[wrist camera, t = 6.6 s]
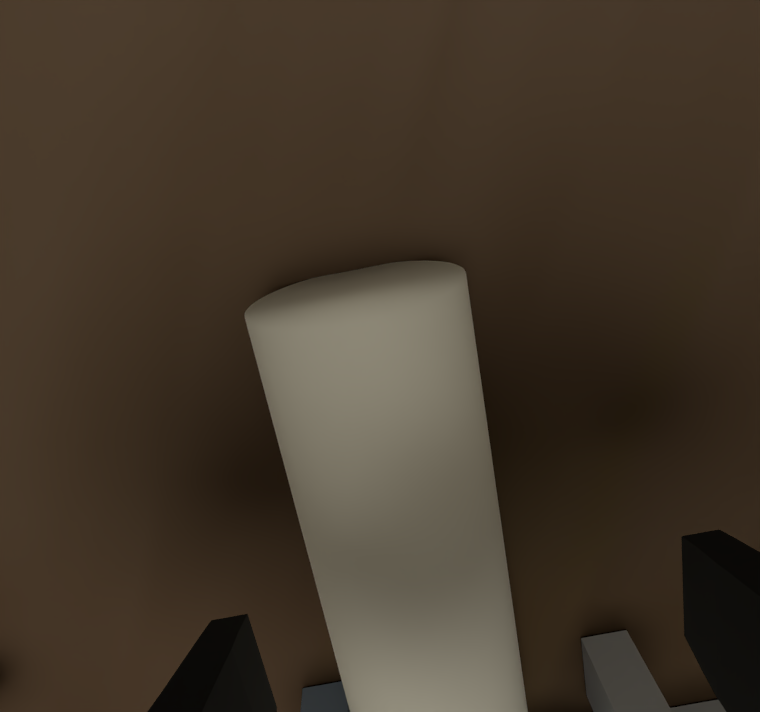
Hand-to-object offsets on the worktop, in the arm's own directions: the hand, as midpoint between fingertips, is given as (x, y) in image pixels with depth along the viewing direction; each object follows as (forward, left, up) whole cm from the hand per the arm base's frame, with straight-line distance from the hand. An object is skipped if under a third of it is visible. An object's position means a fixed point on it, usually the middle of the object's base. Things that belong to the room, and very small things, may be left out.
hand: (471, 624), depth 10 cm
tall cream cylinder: (0, +1, -5) cm, 5 cm away
